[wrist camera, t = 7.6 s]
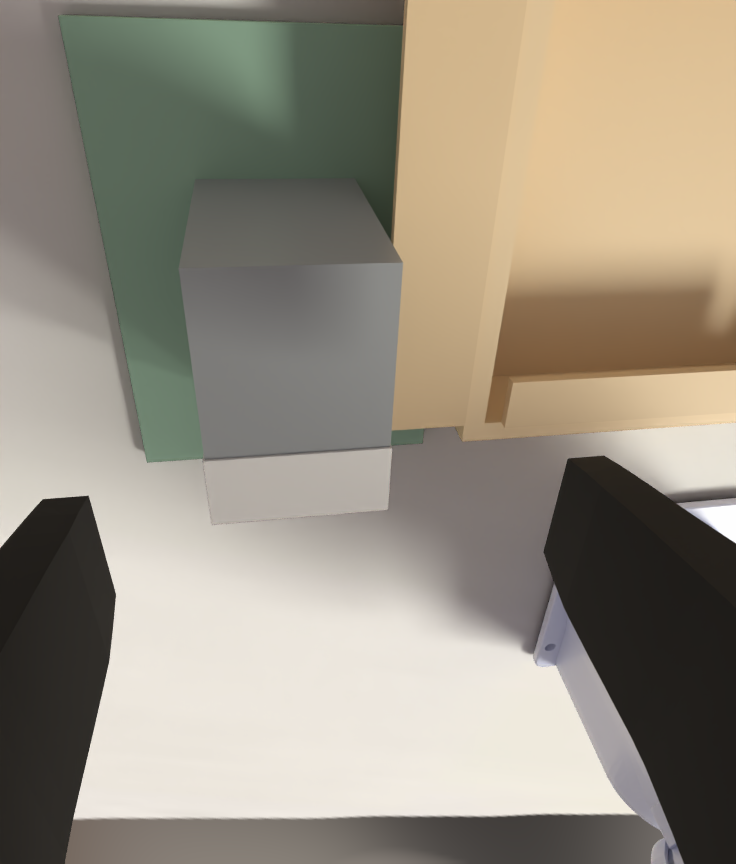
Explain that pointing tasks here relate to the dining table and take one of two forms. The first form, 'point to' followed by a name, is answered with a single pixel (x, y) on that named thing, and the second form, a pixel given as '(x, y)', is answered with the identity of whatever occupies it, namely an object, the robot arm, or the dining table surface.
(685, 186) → the tan wooden shallow tray
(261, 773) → the dining table surface
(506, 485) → the dining table surface
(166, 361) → the flat green panel
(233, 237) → the grey box
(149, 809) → the dining table surface
